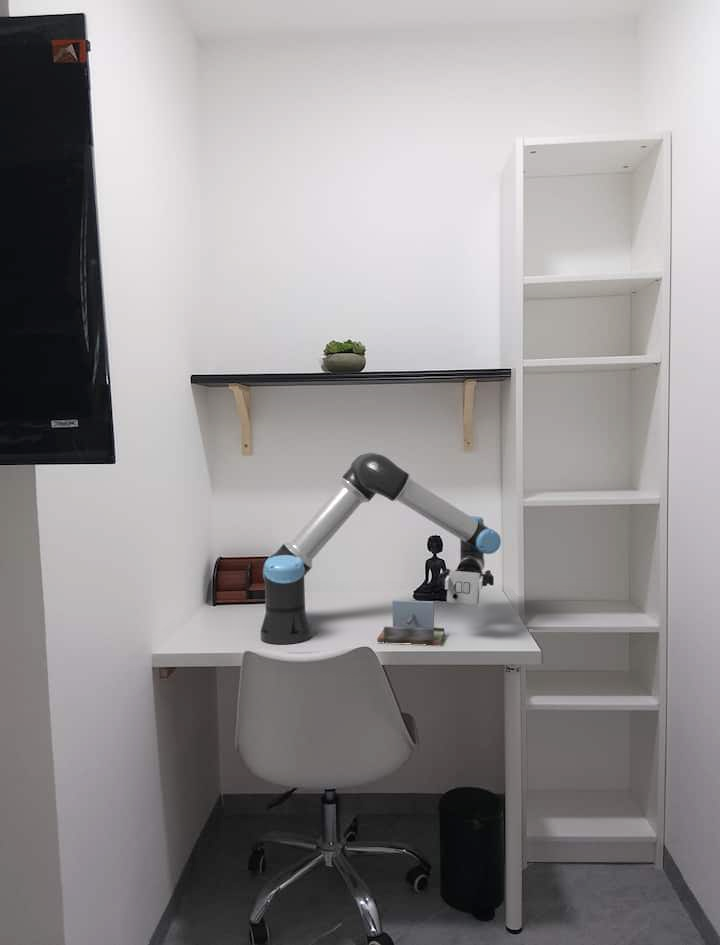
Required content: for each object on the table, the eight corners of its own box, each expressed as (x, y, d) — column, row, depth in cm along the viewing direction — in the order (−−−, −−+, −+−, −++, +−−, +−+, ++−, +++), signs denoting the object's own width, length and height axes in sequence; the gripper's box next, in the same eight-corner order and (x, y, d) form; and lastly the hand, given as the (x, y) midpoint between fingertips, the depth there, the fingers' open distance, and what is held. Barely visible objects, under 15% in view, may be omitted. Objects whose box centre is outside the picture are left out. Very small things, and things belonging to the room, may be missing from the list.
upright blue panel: (388, 636, 205) (387, 607, 204) (393, 628, 213) (393, 600, 213) (440, 638, 201) (440, 608, 201) (444, 630, 210) (443, 601, 209)
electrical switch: (446, 603, 208) (447, 571, 208) (452, 601, 212) (453, 569, 213) (477, 606, 203) (478, 573, 204) (482, 604, 208) (483, 572, 208)
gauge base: (377, 643, 204) (377, 627, 204) (384, 633, 214) (383, 618, 214) (440, 646, 200) (440, 630, 200) (444, 635, 210) (444, 620, 210)
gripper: (504, 583, 223) (502, 599, 201) (435, 580, 228) (425, 596, 206) (504, 559, 223) (502, 573, 201) (435, 557, 228) (425, 571, 206)
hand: (463, 585), depth 203 cm, fingers closed on electrical switch, 9 cm apart
